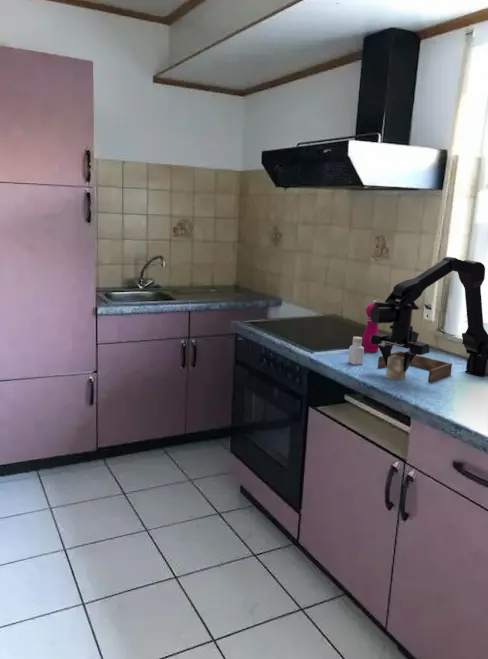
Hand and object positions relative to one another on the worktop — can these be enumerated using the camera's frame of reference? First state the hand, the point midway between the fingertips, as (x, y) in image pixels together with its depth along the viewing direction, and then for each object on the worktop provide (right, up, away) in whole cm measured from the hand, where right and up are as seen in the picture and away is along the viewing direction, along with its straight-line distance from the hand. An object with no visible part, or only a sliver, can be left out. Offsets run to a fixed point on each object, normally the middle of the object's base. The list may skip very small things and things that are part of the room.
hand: (396, 368), depth 183 cm
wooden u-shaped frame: (+8, -1, +9) cm, 12 cm away
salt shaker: (-11, +1, +15) cm, 19 cm away
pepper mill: (-1, +5, +34) cm, 34 cm away
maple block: (0, -3, +1) cm, 3 cm away
